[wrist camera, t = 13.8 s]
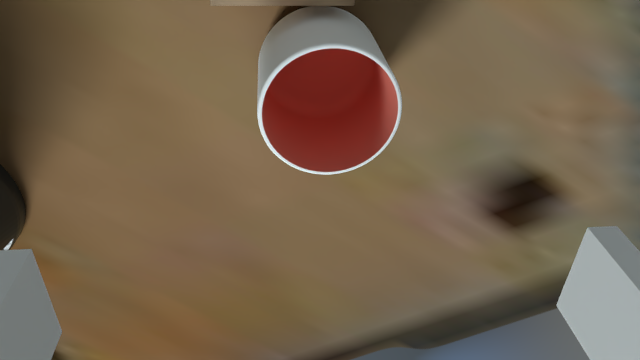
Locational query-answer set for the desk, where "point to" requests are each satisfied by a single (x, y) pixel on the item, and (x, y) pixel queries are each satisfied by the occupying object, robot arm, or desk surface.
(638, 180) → the desk surface
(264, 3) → the block
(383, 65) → the cup
